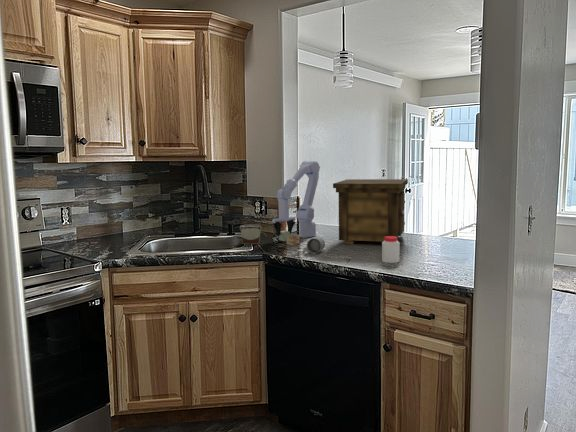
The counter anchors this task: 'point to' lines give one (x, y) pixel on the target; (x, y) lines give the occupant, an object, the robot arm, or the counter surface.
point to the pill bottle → (390, 249)
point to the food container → (250, 233)
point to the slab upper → (293, 237)
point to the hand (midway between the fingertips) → (284, 234)
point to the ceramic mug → (315, 245)
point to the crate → (370, 209)
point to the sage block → (284, 235)
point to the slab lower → (292, 242)
